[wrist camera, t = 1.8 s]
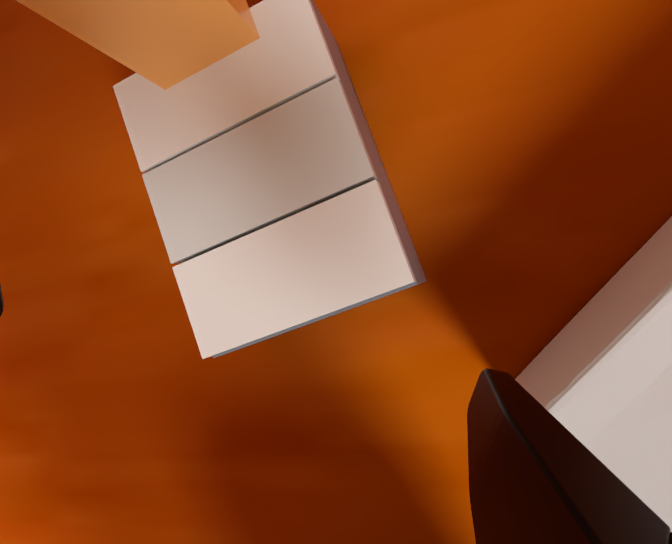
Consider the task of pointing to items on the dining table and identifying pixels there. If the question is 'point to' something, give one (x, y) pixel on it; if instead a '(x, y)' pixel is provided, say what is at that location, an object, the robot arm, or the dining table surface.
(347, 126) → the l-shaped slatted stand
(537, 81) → the dining table surface
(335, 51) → the gray open box
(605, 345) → the skincare box
